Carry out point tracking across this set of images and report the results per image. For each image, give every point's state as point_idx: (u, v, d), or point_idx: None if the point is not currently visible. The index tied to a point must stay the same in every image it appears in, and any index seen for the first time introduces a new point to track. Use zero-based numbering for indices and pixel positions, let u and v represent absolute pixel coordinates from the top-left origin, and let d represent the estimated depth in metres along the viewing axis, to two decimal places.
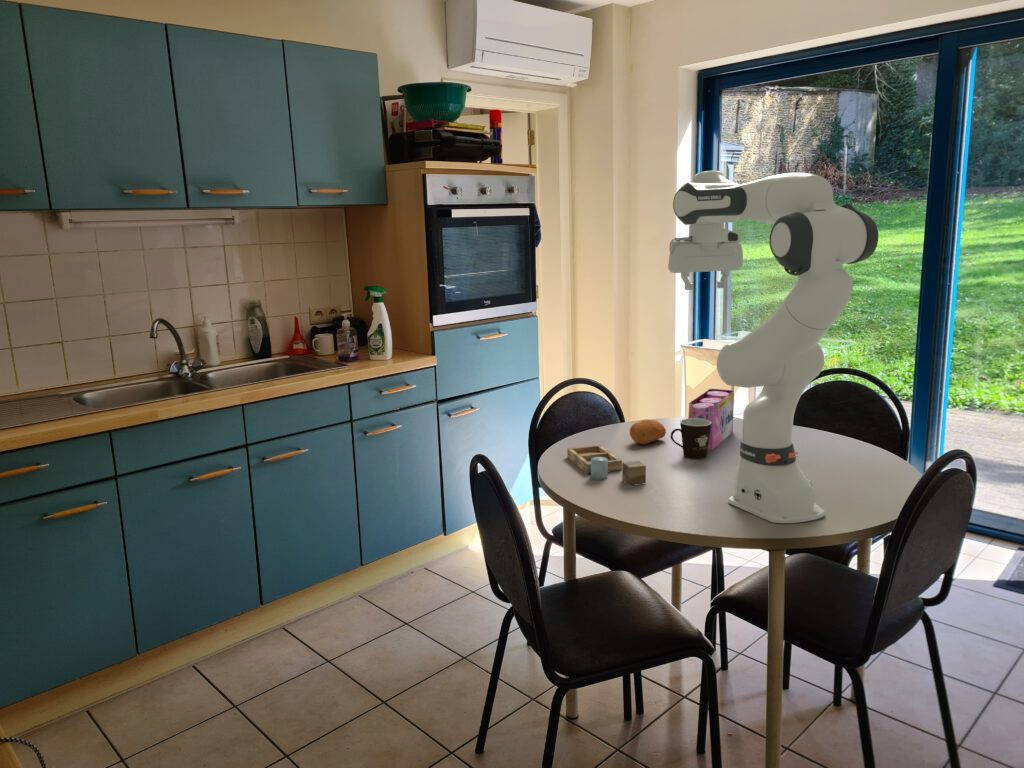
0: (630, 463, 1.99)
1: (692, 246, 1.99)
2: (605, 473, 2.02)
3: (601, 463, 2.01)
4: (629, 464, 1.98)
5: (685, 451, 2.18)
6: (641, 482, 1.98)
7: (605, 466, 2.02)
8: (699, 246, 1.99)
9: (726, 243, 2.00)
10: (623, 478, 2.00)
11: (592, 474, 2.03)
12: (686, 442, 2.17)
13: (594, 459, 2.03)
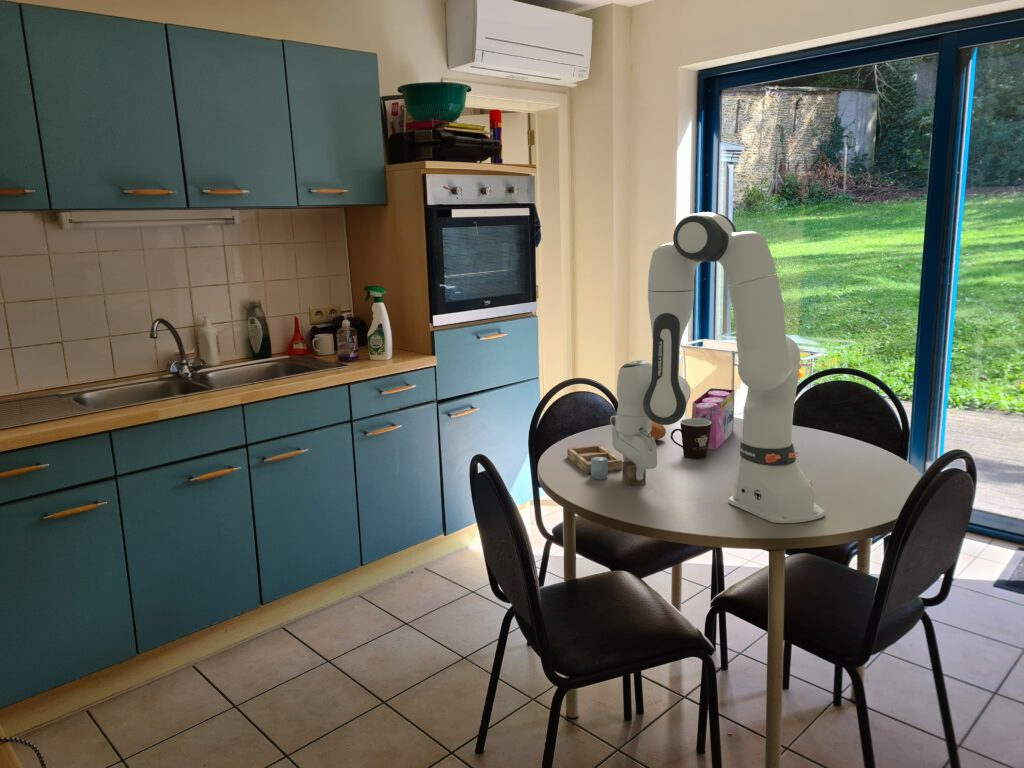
0: (630, 462, 1.99)
1: None
2: (605, 473, 2.02)
3: (601, 463, 2.01)
4: (629, 464, 1.98)
5: (685, 451, 2.18)
6: (641, 482, 1.98)
7: (605, 466, 2.02)
8: None
9: None
10: (623, 478, 2.00)
11: (592, 474, 2.03)
12: (686, 442, 2.17)
13: (594, 459, 2.03)
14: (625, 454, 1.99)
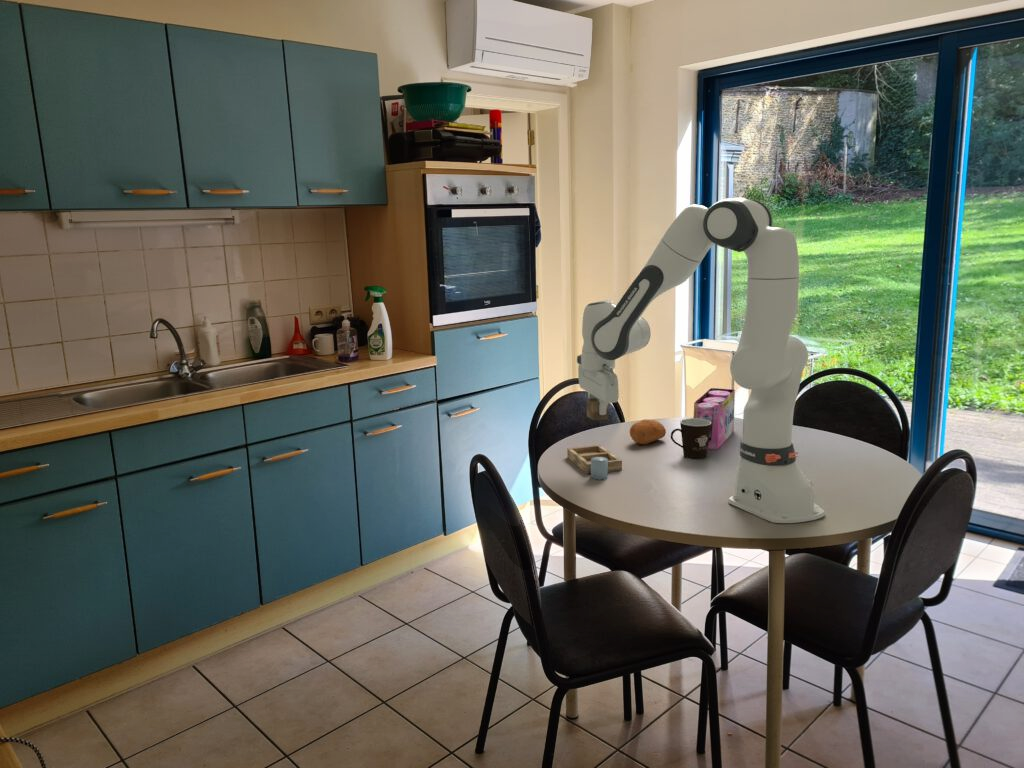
0: (594, 399, 2.09)
1: None
2: (605, 473, 2.02)
3: (601, 463, 2.01)
4: (593, 400, 2.07)
5: (685, 451, 2.18)
6: (604, 417, 2.07)
7: (605, 466, 2.02)
8: None
9: None
10: (588, 414, 2.09)
11: (592, 474, 2.03)
12: (686, 442, 2.17)
13: (594, 459, 2.03)
14: (590, 391, 2.08)
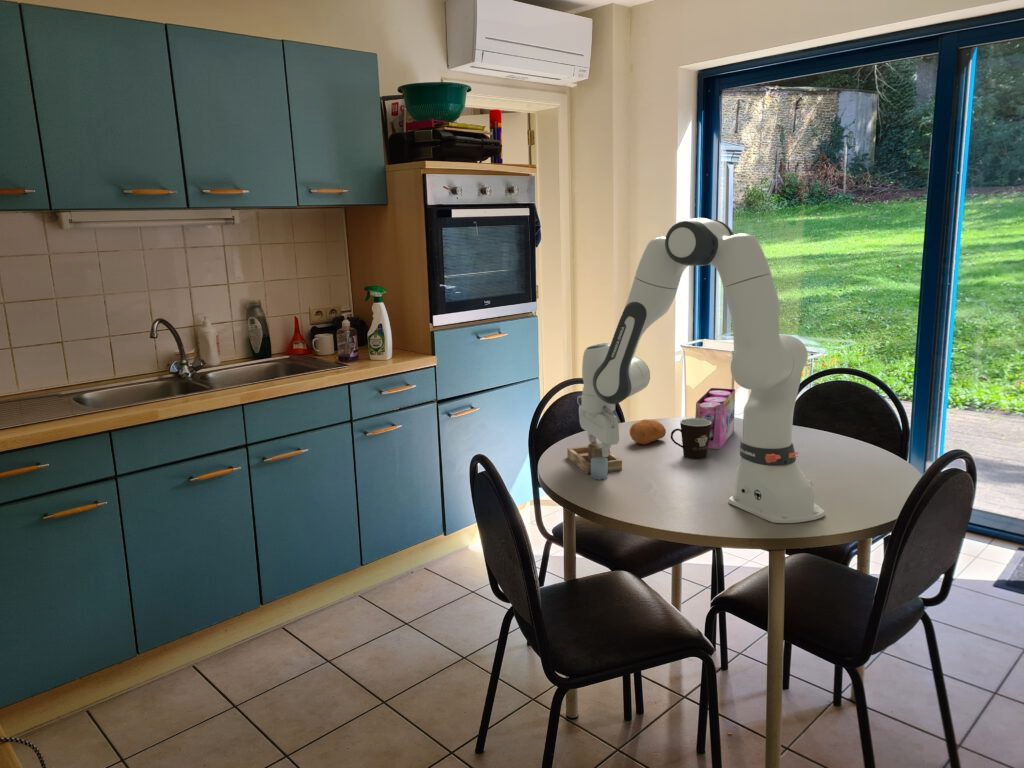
0: (595, 445, 2.11)
1: None
2: (605, 473, 2.02)
3: (601, 463, 2.01)
4: (594, 446, 2.10)
5: (685, 451, 2.18)
6: None
7: (605, 466, 2.02)
8: None
9: None
10: (589, 460, 2.12)
11: (592, 474, 2.03)
12: (686, 442, 2.17)
13: (594, 459, 2.03)
14: (590, 432, 2.11)
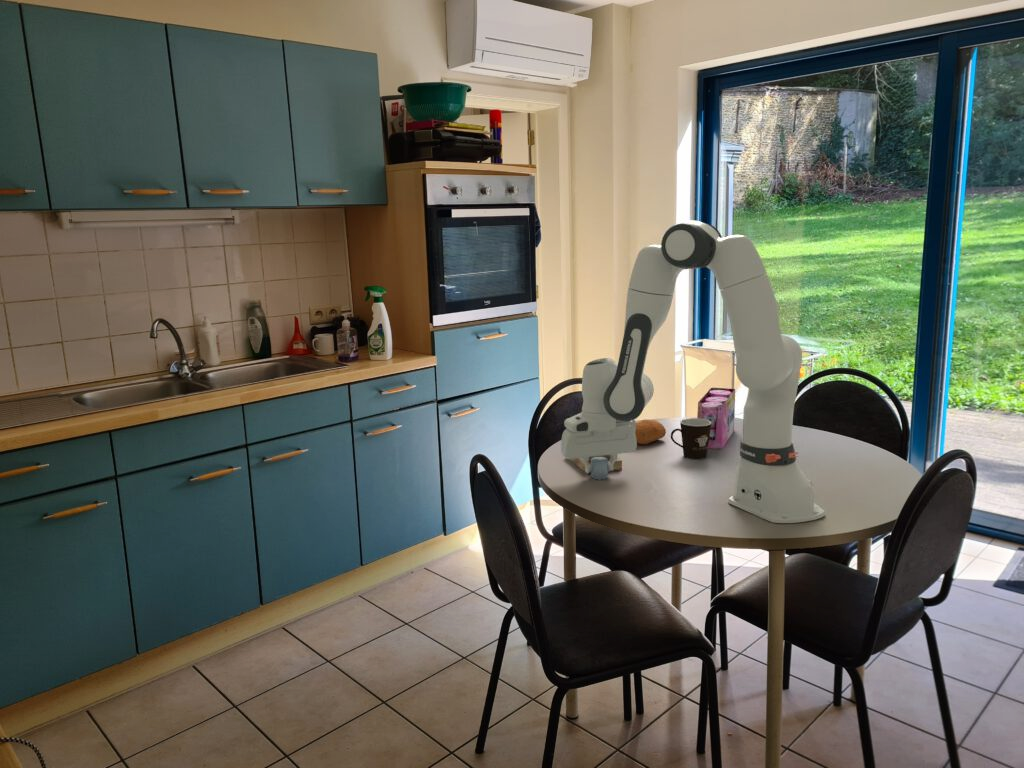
0: None
1: None
2: (605, 473, 2.02)
3: (601, 463, 2.01)
4: None
5: (685, 451, 2.18)
6: None
7: (605, 466, 2.02)
8: None
9: None
10: (589, 460, 2.12)
11: (592, 474, 2.03)
12: (686, 442, 2.17)
13: (594, 459, 2.03)
14: (597, 453, 2.00)
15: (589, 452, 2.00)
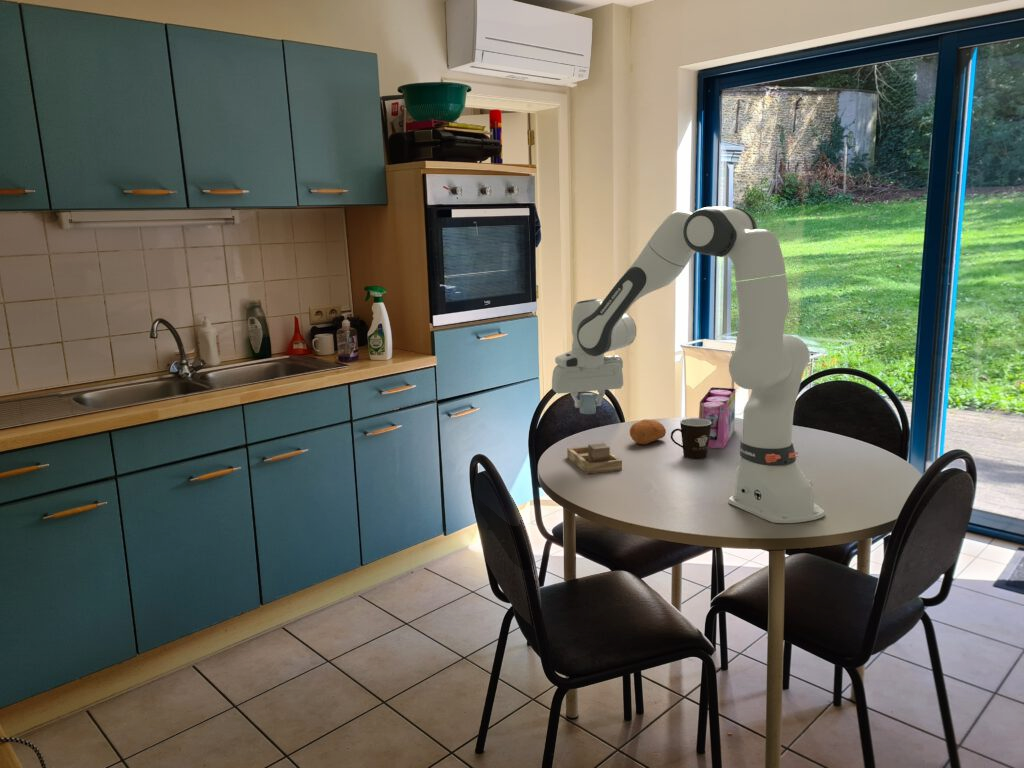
0: (595, 445, 2.11)
1: None
2: (593, 407, 2.14)
3: (589, 398, 2.13)
4: (594, 446, 2.10)
5: (685, 451, 2.18)
6: None
7: (593, 401, 2.14)
8: None
9: None
10: (589, 460, 2.12)
11: (581, 408, 2.15)
12: (686, 442, 2.17)
13: (583, 394, 2.15)
14: (585, 388, 2.13)
15: (578, 387, 2.12)
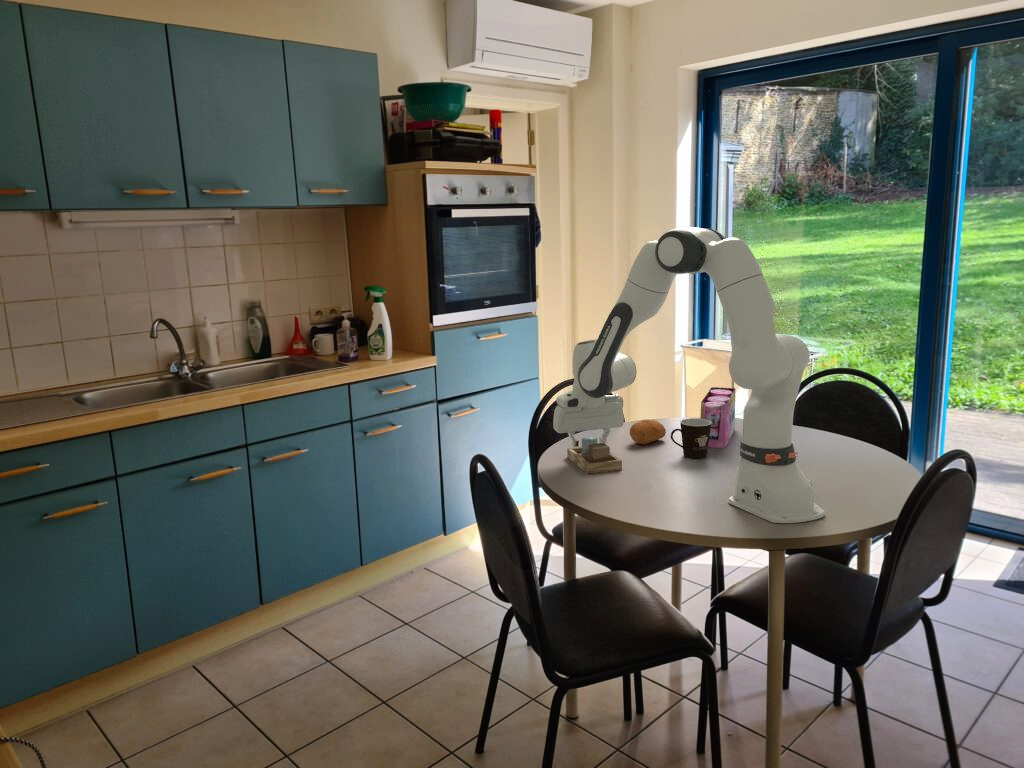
0: (595, 445, 2.11)
1: None
2: None
3: (590, 442, 2.16)
4: (594, 446, 2.10)
5: (685, 451, 2.18)
6: None
7: None
8: None
9: None
10: (589, 460, 2.12)
11: (583, 452, 2.18)
12: (686, 442, 2.17)
13: (584, 438, 2.18)
14: (586, 428, 2.15)
15: (579, 427, 2.14)
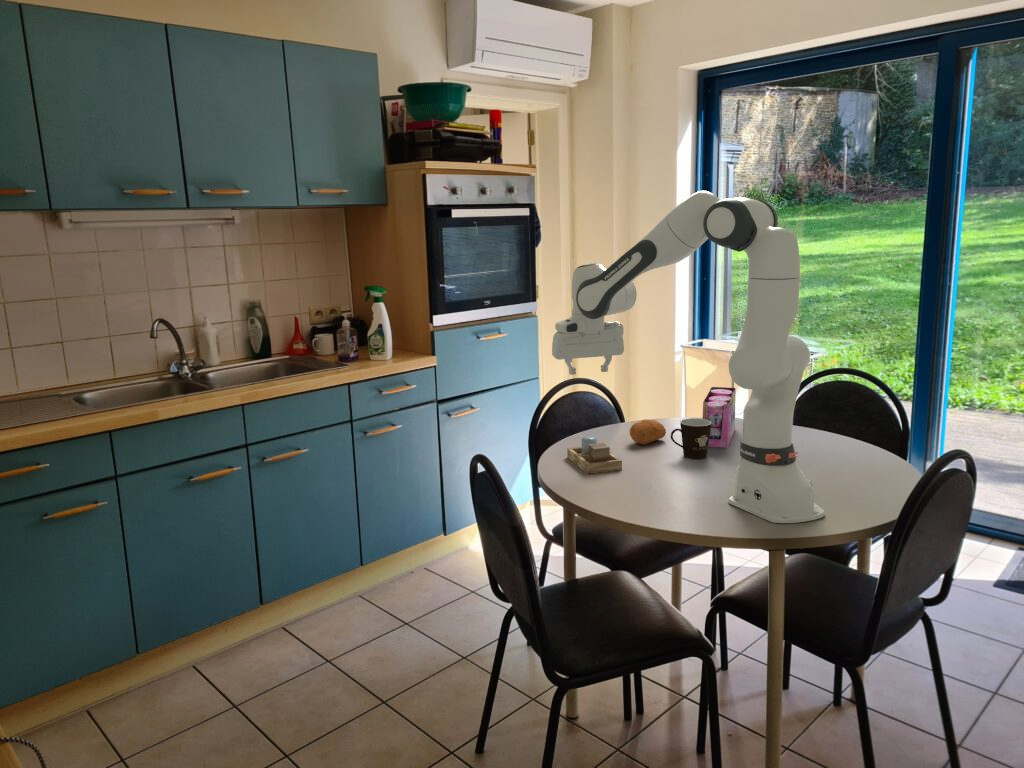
0: (595, 445, 2.11)
1: None
2: None
3: (591, 441, 2.16)
4: (594, 446, 2.10)
5: (685, 451, 2.18)
6: None
7: None
8: None
9: None
10: (589, 460, 2.12)
11: (583, 452, 2.18)
12: (686, 442, 2.17)
13: (585, 438, 2.18)
14: (586, 354, 2.11)
15: (578, 353, 2.10)
